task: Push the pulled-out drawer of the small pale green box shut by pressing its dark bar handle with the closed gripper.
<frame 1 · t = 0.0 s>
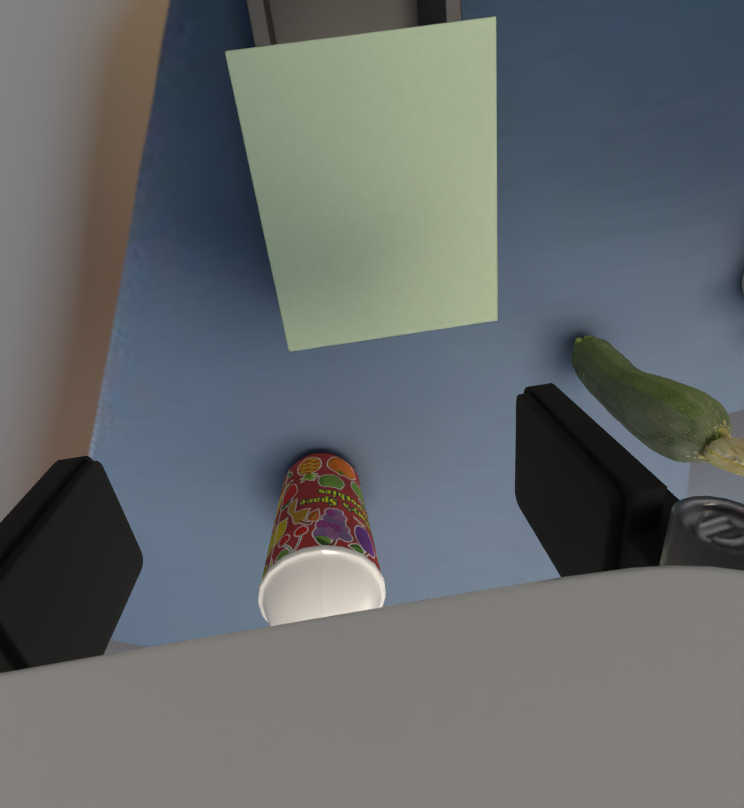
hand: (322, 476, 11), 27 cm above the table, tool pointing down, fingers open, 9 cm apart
pale green box: (364, 195, 34), on the table
vegetable: (571, 347, 41), on the table
smoothie: (321, 476, 44), on the table
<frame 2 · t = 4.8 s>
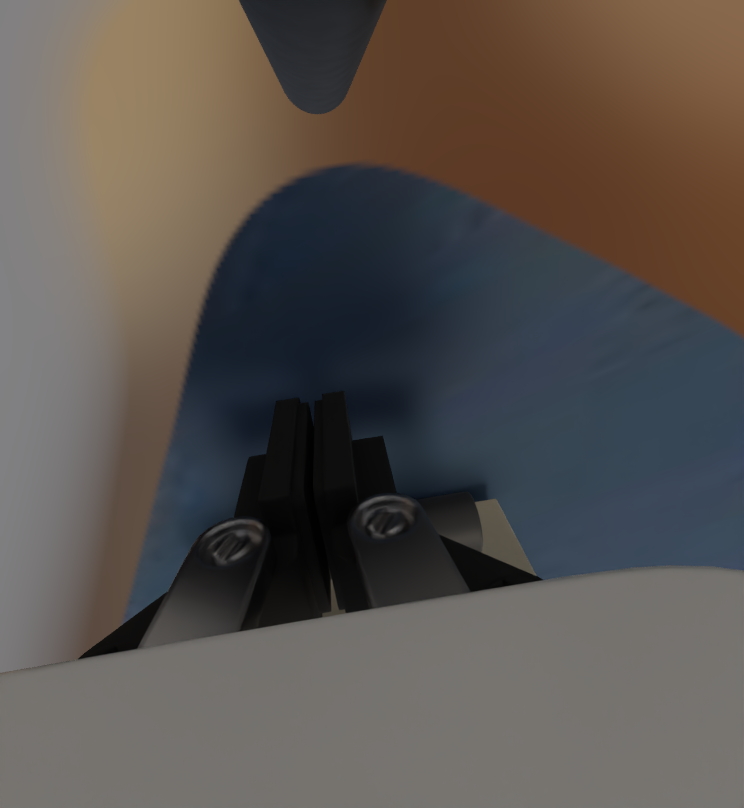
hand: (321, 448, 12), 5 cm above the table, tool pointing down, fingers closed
drawer: (374, 695, 17), point 5 cm above the table, slide at 6.9 cm, touching gripper
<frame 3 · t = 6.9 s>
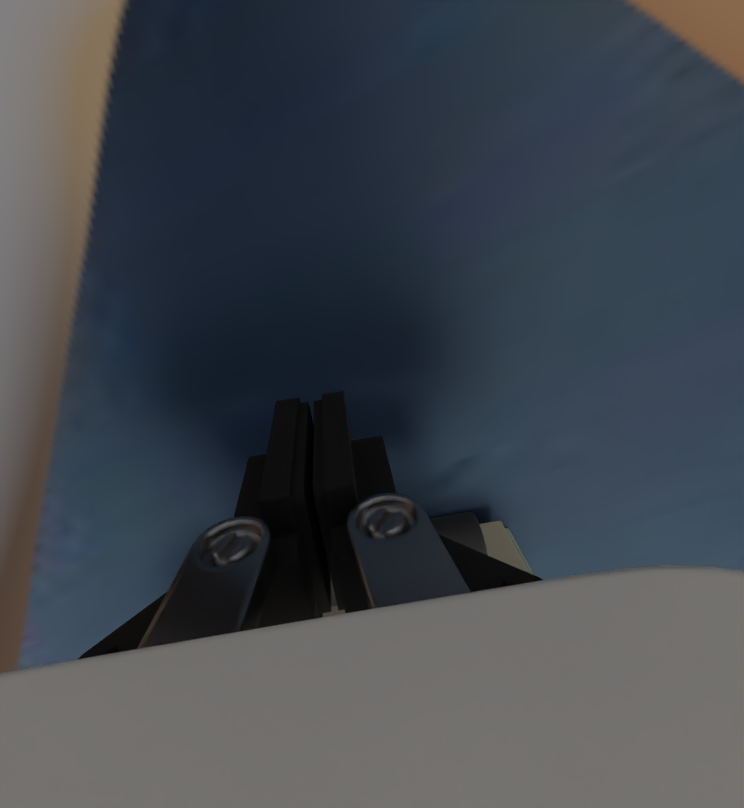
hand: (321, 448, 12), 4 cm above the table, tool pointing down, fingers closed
drawer: (374, 733, 16), point 5 cm above the table, slide at 0.0 cm, touching pale green box, gripper
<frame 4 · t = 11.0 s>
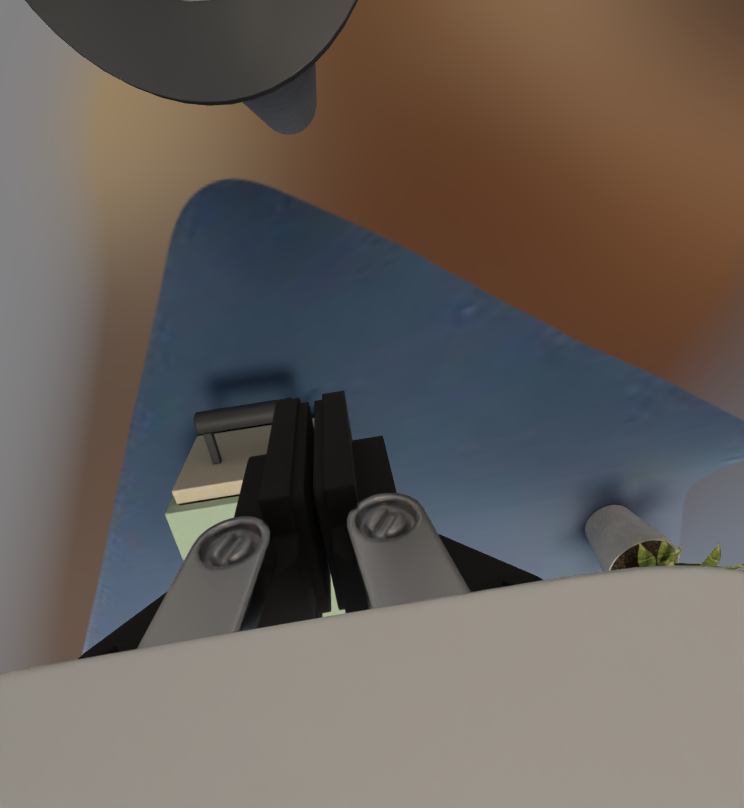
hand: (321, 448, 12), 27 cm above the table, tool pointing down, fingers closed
pale green box: (284, 498, 45), on the table
drawer: (271, 496, 39), point 5 cm above the table, slide at 0.0 cm, touching pale green box
house plant: (619, 521, 51), on the table
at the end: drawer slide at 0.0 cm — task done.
